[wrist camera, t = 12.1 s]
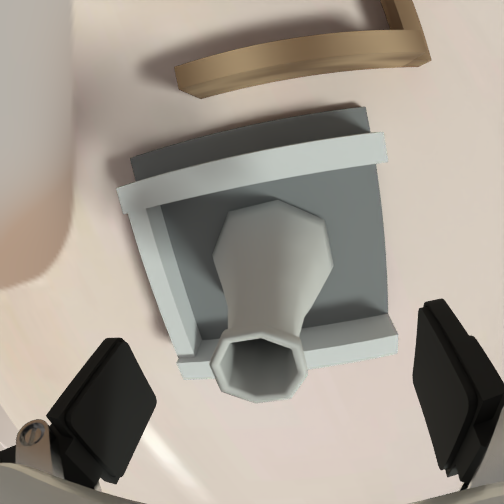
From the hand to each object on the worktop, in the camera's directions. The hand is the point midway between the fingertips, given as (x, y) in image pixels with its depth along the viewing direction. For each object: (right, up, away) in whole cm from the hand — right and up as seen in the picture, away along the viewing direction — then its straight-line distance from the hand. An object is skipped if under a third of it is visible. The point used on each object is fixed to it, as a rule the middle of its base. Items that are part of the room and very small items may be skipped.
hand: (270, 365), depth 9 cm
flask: (+1, +3, +10) cm, 10 cm away
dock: (+1, +3, +10) cm, 11 cm away
